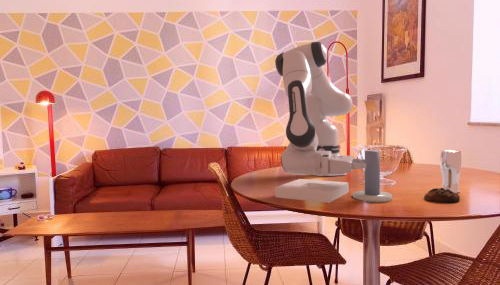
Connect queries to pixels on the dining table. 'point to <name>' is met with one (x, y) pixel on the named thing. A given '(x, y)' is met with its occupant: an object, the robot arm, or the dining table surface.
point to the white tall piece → (450, 169)
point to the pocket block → (312, 190)
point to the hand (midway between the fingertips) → (366, 163)
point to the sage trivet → (373, 197)
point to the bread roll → (442, 196)
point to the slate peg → (372, 172)
